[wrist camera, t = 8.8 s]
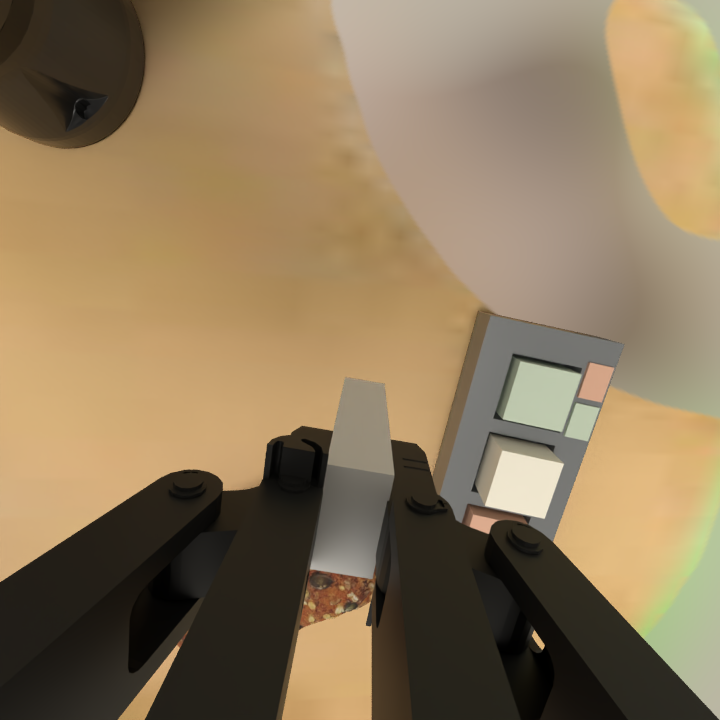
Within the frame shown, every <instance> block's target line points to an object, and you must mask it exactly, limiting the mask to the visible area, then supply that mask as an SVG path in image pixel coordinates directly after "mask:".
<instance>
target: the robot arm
mask: <svg viewBox="0 0 720 720" xmlns="http://www.w3.org/2000/svg"><path fill="white" fill-rule="evenodd" d="M143 70H144V45H143V38H142V33H141V28H140V24H139V21H138V18H137V15H136V12H135V9H134V7H133V5H132V3H131V1H130V0H0V126H2V127H3V128H5V129H7V130H9V131H11V132H13V133H15V134H17V135H20V136H22V137H25V138H27V139H30V140H32V141H35V142H38V143H40V144H43V145H47V146H51V147H57V148H77V147H83V146H86V145H90V144H93V143H95V142H97V141H100V140H101V139H103V138H105V137H106V136H108V135H109V134H111V133H112V132H113V131H114V130H115V129H116V128H117V127H119V126H120V124H121V123H122V122H123V121H124V120H125V118H126V117H127V116H128V114H129V112H130V111H131V109H132V107H133V105H134V103H135V101H136V99H137V96H138V93H139V90H140V87H141V83H142V78H143ZM375 565H376V581H375V585H374V590H373V594H372V599H371V604H370V608H369V613H368V618H367V622H366V626H371V624H372V720H719V719H718V718H717V717H716V716H715V715H714V714H713V713H712V712H711V710H710V709H709V708H708V707H707V706H706V705H705V704H704V703H703V702H702V701H701V700H700V699H699V698H698V697H697V696H696V694H695V693H694V692H693V691H692V690H691V689H690V688H689V687H688V686H687V685H686V684H685V683H684V682H683V681H682V679H680V677H679V676H678V675H677V674H676V673H675V672H674V671H673V670H672V669H671V668H670V667H669V666H668V665H667V664H666V662H665V661H664V660H663V659H662V658H661V657H660V656H659V655H658V654H657V653H656V652H655V651H654V650H653V649H652V647H651V646H650V645H648V643H647V642H646V641H645V640H644V639H643V638H642V637H641V636H640V635H639V634H638V633H637V631H636V630H635V629H634V628H633V627H632V626H631V625H630V624H629V623H628V622H627V621H626V620H625V619H624V618H623V617H622V615H621V614H620V613H619V612H618V611H617V610H616V609H615V608H614V607H613V606H612V605H611V604H610V603H609V602H608V600H607V599H606V598H605V597H604V596H603V595H602V594H601V593H600V592H599V591H598V590H597V589H596V588H595V587H594V586H593V584H592V583H591V582H590V581H589V580H588V579H587V578H586V577H585V576H584V575H583V574H582V573H581V572H580V571H579V570H578V568H577V567H576V566H575V565H574V564H573V563H572V562H571V561H570V560H569V559H568V558H567V557H566V556H565V555H564V554H563V552H562V551H561V550H560V549H559V548H558V547H557V546H556V545H555V544H554V543H553V542H552V541H551V540H550V539H549V538H548V537H546V536H545V535H544V534H543V533H542V532H540V531H538V530H536V529H535V528H533V527H532V526H530V525H528V524H525V523H523V522H519V521H512V520H500V521H496V522H495V523H494V524H493V525H491V528H490V532H489V534H487V533H485V532H482V531H479V530H477V529H474V528H471V527H469V526H467V525H464V524H462V523H460V522H459V521H457V520H456V518H455V515H454V512H453V509H452V508H451V506H450V504H449V503H448V502H447V501H446V500H445V499H444V498H442V497H441V496H440V495H438V494H437V492H436V489H435V485H434V482H433V478H432V475H431V472H430V468H429V464H428V461H427V457H426V454H425V452H424V451H423V450H422V449H421V448H420V447H419V446H418V445H417V444H414V443H408V442H402V441H396V440H391V439H390V430H389V420H388V411H387V402H386V393H385V384H383V383H377V382H371V381H365V380H359V379H354V378H348V377H345V380H344V385H343V389H342V394H341V399H340V403H339V408H338V412H337V417H336V421H335V426H334V430H333V431H329V430H323V429H317V428H312V427H306V426H301V427H300V428H298V429H296V430H295V431H293V432H292V433H291V435H286V436H280V437H277V438H274V439H272V440H271V441H270V442H269V443H268V444H267V451H266V459H265V467H264V475H263V480H262V482H261V484H260V486H258V487H255V488H251V489H246V490H235V491H223V483H222V481H221V480H220V479H219V478H218V476H216V475H214V474H212V473H210V472H206V471H200V470H182V471H178V472H173V473H170V474H168V475H166V476H164V477H161V478H160V479H158V480H157V481H155V482H153V483H152V484H150V485H149V486H147V487H146V488H144V489H143V490H141V491H140V492H138V493H137V494H135V495H133V496H132V497H130V498H129V499H127V500H126V501H124V502H123V503H121V504H120V505H118V506H117V507H115V508H114V509H112V510H110V511H109V512H107V513H106V514H104V515H103V516H101V517H100V518H98V519H97V520H95V521H94V522H92V523H90V524H89V525H87V526H86V527H84V528H83V529H81V530H80V531H78V532H77V533H75V534H74V535H72V536H71V537H69V538H67V539H66V540H64V541H63V542H61V543H60V544H58V545H57V546H55V547H54V548H52V549H51V550H49V551H48V552H46V553H44V554H43V555H41V556H40V557H38V558H37V559H35V560H34V561H32V562H31V563H29V564H28V565H26V566H24V567H23V568H21V569H20V570H18V571H17V572H15V573H14V574H12V575H11V576H9V577H8V578H6V579H5V580H3V581H1V582H0V720H118V718H119V717H120V716H121V715H122V713H123V712H124V711H125V709H126V708H127V707H128V706H129V704H130V703H131V702H132V701H133V699H134V698H135V697H136V696H137V694H138V693H139V692H140V691H141V689H142V688H143V687H144V686H145V684H146V683H147V682H148V680H149V679H150V678H151V677H152V675H153V674H154V673H155V672H156V670H157V669H158V668H159V667H160V665H161V664H162V663H163V662H164V660H165V659H166V658H167V657H168V655H169V654H170V653H171V651H172V650H173V649H174V648H175V646H176V645H177V644H178V643H179V641H180V640H181V639H182V638H183V636H184V635H185V634H186V633H187V631H188V630H189V631H188V633H187V635H186V637H185V639H184V641H183V643H182V645H181V647H180V649H179V651H178V653H177V655H176V657H175V659H174V661H173V663H172V665H171V667H170V669H169V672H168V674H167V676H166V678H165V680H164V682H163V684H162V686H161V688H160V690H159V692H158V694H157V696H156V698H155V700H154V702H153V704H152V706H151V708H150V710H149V712H148V714H147V716H146V718H145V720H282V714H283V709H284V704H285V699H286V694H287V688H288V683H289V678H290V673H291V668H292V662H293V657H294V652H295V647H296V642H297V636H298V631H299V626H300V621H301V616H302V610H303V605H304V600H305V595H306V590H307V584H308V578H309V572H310V569H313V570H319V571H325V572H331V573H337V574H343V575H350V576H356V577H362V578H368V579H373V574H374V570H375ZM534 630H535V631H536V633H537V634H538V636H539V637H540V639H541V640H542V642H543V643H544V645H545V647H544V649H543V650H541V648H540V647H539V646H538V645H537V643H536V642H535V640H534V639H533V637H532V634H533V631H534Z"/></svg>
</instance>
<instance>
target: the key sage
mask: <svg viewBox="0 0 720 720" xmlns="http://www.w3.org/2000/svg"><path fill="white" fill-rule="evenodd" d="M581 376H582V374H580V373H578V372H575V371H573V370H571V369H569V368H567V367H565V366H563V365H560V364H555V363H551V362H546V361H542V360H537V359H532V358H528V357H523V356H519V355H514V354H513V355H512V358H511V361H510V365H509V368H508V371H507V375H506V378H505V381H504V385H503V388H502V391H501V395H500V398H499V401H498V404H497V408H496V412H497V413H498V415H499V416H500V417H501V418H502V419H503V420H508V421H513V422H517V423H522V424H527V425H531V426H536V427H540V428H545V429H550V430H554V431H559V432H562V431H563V428H564V425H565V422H566V419H567V416H568V413H569V410H570V408H571V405H572V402H573V399H574V396H575V393H576V390H577V387H578V384H579V381H580V379H581Z"/></svg>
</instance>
